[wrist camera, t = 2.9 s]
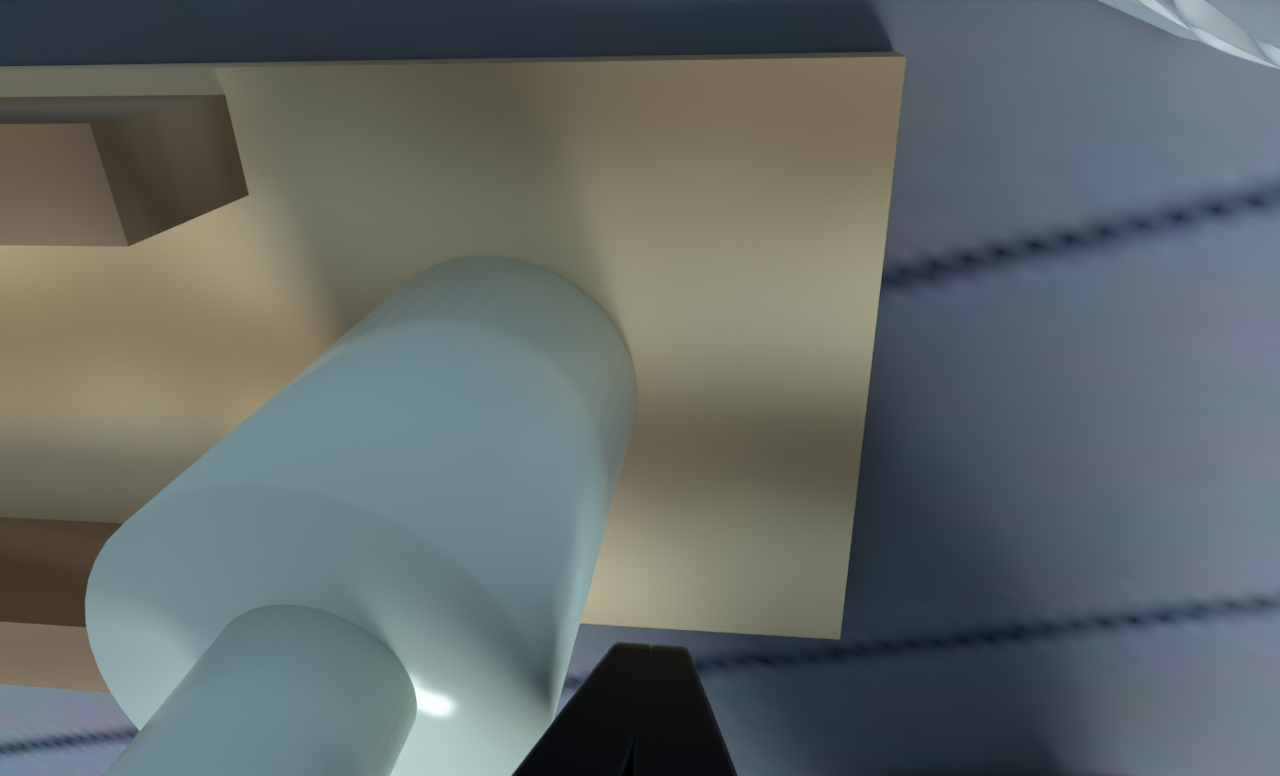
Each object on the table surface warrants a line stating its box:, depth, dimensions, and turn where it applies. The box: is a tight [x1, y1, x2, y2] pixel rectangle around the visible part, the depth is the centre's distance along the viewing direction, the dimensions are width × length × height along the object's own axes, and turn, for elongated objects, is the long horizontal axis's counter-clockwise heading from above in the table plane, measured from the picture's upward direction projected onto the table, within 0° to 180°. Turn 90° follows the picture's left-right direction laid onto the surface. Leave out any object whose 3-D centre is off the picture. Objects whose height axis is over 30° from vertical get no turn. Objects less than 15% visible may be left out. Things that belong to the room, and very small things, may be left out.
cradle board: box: [0, 51, 907, 692], centre depth 14 cm, size 11×23×4 cm, turn 91°
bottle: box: [85, 256, 638, 776], centre depth 10 cm, size 5×5×10 cm
